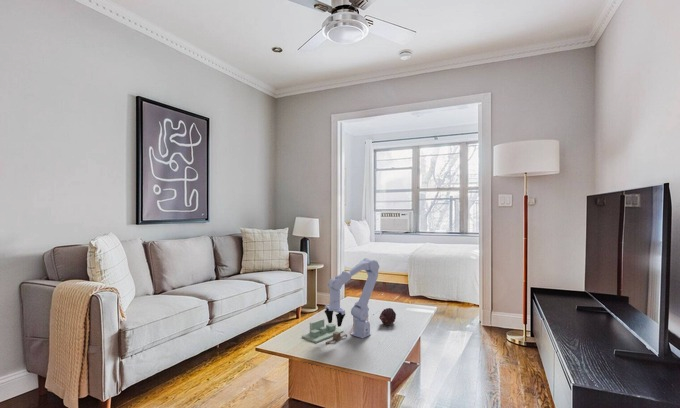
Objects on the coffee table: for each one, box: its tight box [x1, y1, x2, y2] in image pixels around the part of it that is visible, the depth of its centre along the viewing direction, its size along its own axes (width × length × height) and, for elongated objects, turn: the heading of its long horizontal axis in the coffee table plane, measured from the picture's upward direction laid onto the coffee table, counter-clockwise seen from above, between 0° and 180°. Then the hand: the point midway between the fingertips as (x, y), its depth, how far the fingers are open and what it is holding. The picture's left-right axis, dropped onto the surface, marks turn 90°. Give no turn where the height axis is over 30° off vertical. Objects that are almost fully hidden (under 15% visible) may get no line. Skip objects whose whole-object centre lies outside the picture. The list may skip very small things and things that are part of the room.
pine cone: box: [379, 307, 397, 326], centre depth 224 cm, size 18×10×10 cm, turn 153°
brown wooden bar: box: [325, 332, 348, 345], centre depth 198 cm, size 4×16×4 cm, turn 137°
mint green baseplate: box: [301, 318, 344, 344], centre depth 205 cm, size 12×22×7 cm, turn 137°
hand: (334, 324), depth 198 cm, fingers open, 7 cm apart
